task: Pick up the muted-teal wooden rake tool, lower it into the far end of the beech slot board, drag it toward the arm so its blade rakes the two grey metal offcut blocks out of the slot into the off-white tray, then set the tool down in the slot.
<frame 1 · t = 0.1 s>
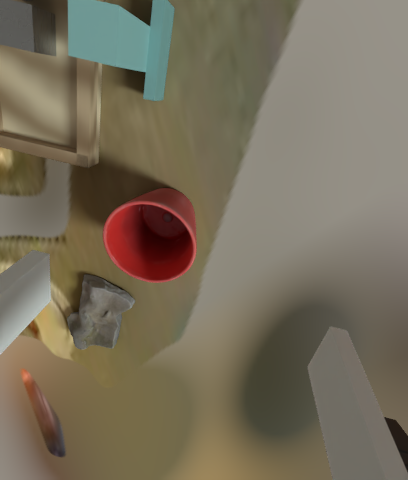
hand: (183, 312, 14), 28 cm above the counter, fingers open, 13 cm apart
slot board: (45, 58, 35), on the counter
stone: (103, 307, 53), on the counter
rake tool: (141, 50, 34), on the counter
flower pot: (168, 213, 42), on the counter
chip block 1: (38, 32, 33), point 1 cm above the counter, touching slot board
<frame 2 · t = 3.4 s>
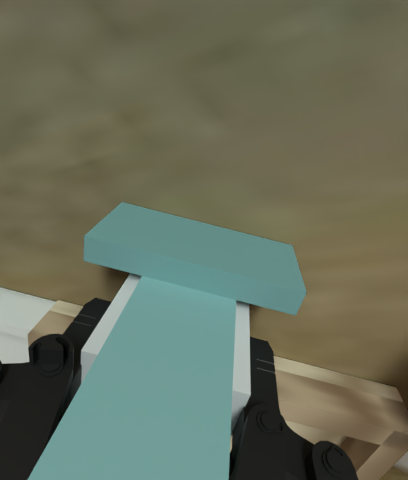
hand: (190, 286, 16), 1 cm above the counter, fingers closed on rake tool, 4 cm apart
slot board: (202, 409, 22), on the counter
rake tool: (194, 274, 17), on the counter, touching gripper
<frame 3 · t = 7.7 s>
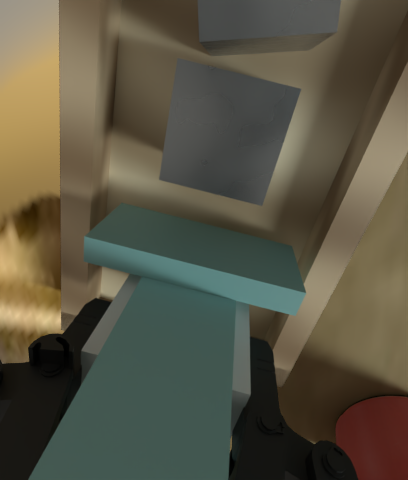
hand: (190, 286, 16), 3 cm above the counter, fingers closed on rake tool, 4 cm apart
slot board: (217, 173, 16), on the counter
rake tool: (194, 274, 17), point 2 cm above the counter, touching gripper
flower pot: (385, 424, 23), on the counter
chip block 1: (228, 126, 14), point 1 cm above the counter, touching slot board
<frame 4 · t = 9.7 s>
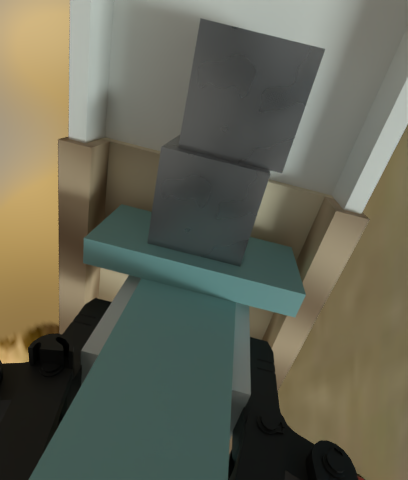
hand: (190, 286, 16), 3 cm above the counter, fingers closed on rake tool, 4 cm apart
slot board: (180, 319, 21), on the counter
tray: (254, 21, 13), on the counter
chip block 2: (244, 100, 14), resting on tray, touching chip block 1
rake tool: (193, 275, 17), point 2 cm above the counter, touching gripper
chip block 1: (213, 183, 15), point 1 cm above the counter, touching chip block 2
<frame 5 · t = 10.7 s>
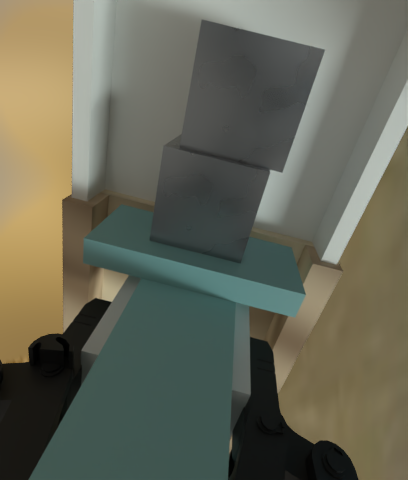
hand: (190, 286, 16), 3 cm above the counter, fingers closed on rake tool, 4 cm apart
slot board: (176, 346, 22), on the counter
tray: (238, 94, 14), on the counter
chip block 2: (245, 100, 14), resting on tray, touching chip block 1
rake tool: (193, 276, 17), point 2 cm above the counter, touching chip block 1, gripper
chip block 1: (214, 182, 15), point 1 cm above the counter, touching chip block 2, rake tool
when the fingers open (3 cm above the counter, at t = 12.2 s): rake tool stays where it is, resting on slot board.
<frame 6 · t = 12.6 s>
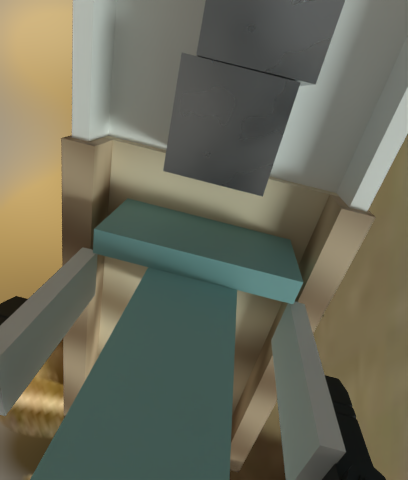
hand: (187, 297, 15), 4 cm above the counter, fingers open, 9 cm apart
slot board: (183, 318, 20), on the counter
tray: (258, 18, 13), on the counter
chip block 2: (266, 21, 12), resting on tray
rake tool: (196, 267, 17), point 1 cm above the counter, touching slot board
chip block 1: (230, 121, 14), resting on tray
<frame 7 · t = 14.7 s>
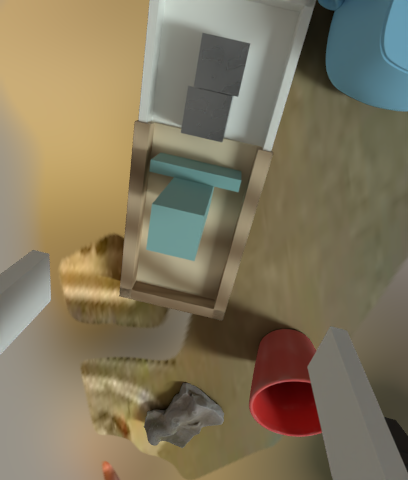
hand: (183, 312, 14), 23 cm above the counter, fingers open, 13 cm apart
slot board: (189, 225, 37), on the counter
tray: (220, 67, 29), on the counter
teapot: (406, 33, 26), on the counter
stone: (184, 407, 53), on the counter
chip block 2: (223, 69, 29), resting on tray
rake tool: (195, 189, 34), point 1 cm above the counter, touching slot board
flower pot: (284, 347, 44), on the counter
chip block 1: (209, 112, 30), resting on tray
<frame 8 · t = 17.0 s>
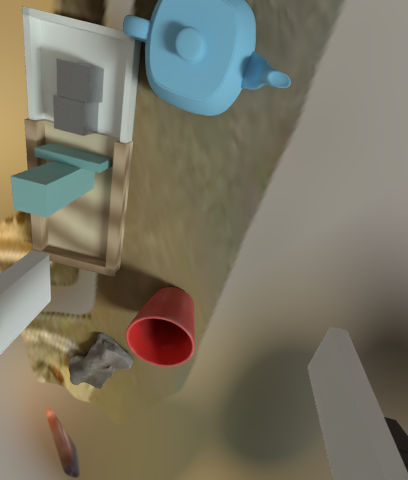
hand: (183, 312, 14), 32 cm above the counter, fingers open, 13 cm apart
slot board: (83, 200, 47), on the counter
tray: (87, 80, 39), on the counter
teapot: (211, 59, 37), on the counter
stone: (102, 356, 64), on the counter
chip block 2: (88, 82, 39), resting on tray
rake tool: (81, 172, 44), point 1 cm above the counter, touching slot board
flower pot: (173, 303, 55), on the counter
chip block 1: (84, 113, 41), resting on tray
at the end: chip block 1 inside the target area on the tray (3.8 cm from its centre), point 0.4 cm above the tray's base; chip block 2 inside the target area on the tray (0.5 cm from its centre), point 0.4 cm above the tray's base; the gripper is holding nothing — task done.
